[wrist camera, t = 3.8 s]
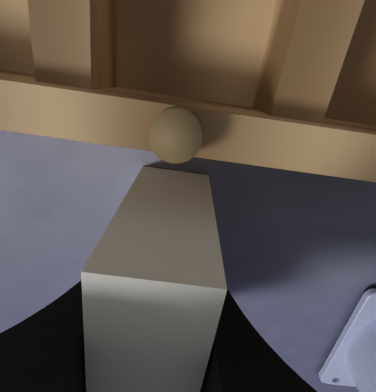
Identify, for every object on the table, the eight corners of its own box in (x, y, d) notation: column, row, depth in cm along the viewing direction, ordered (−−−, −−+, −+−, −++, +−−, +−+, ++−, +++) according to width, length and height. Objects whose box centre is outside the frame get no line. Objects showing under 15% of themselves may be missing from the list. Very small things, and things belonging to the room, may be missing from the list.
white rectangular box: (208, 175, 12) (227, 289, 5) (185, 303, 15) (179, 469, 9) (142, 166, 12) (81, 271, 5) (134, 297, 15) (89, 460, 8)
